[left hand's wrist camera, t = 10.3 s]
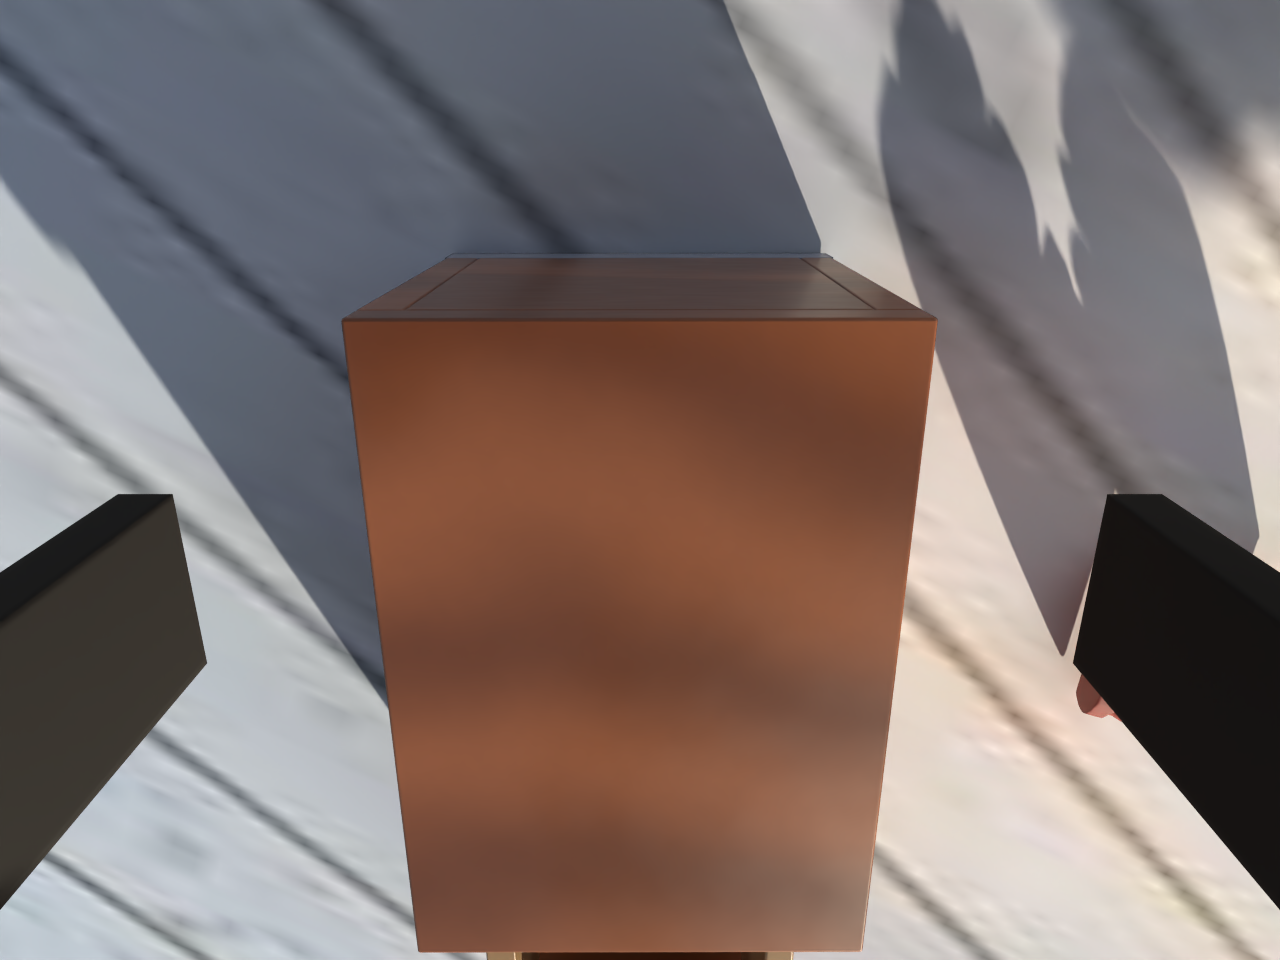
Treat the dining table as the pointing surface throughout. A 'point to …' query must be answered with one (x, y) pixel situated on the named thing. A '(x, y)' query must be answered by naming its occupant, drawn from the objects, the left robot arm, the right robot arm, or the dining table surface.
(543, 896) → the cabinet
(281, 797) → the dining table surface
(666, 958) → the drawer
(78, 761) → the left robot arm
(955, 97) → the dining table surface
